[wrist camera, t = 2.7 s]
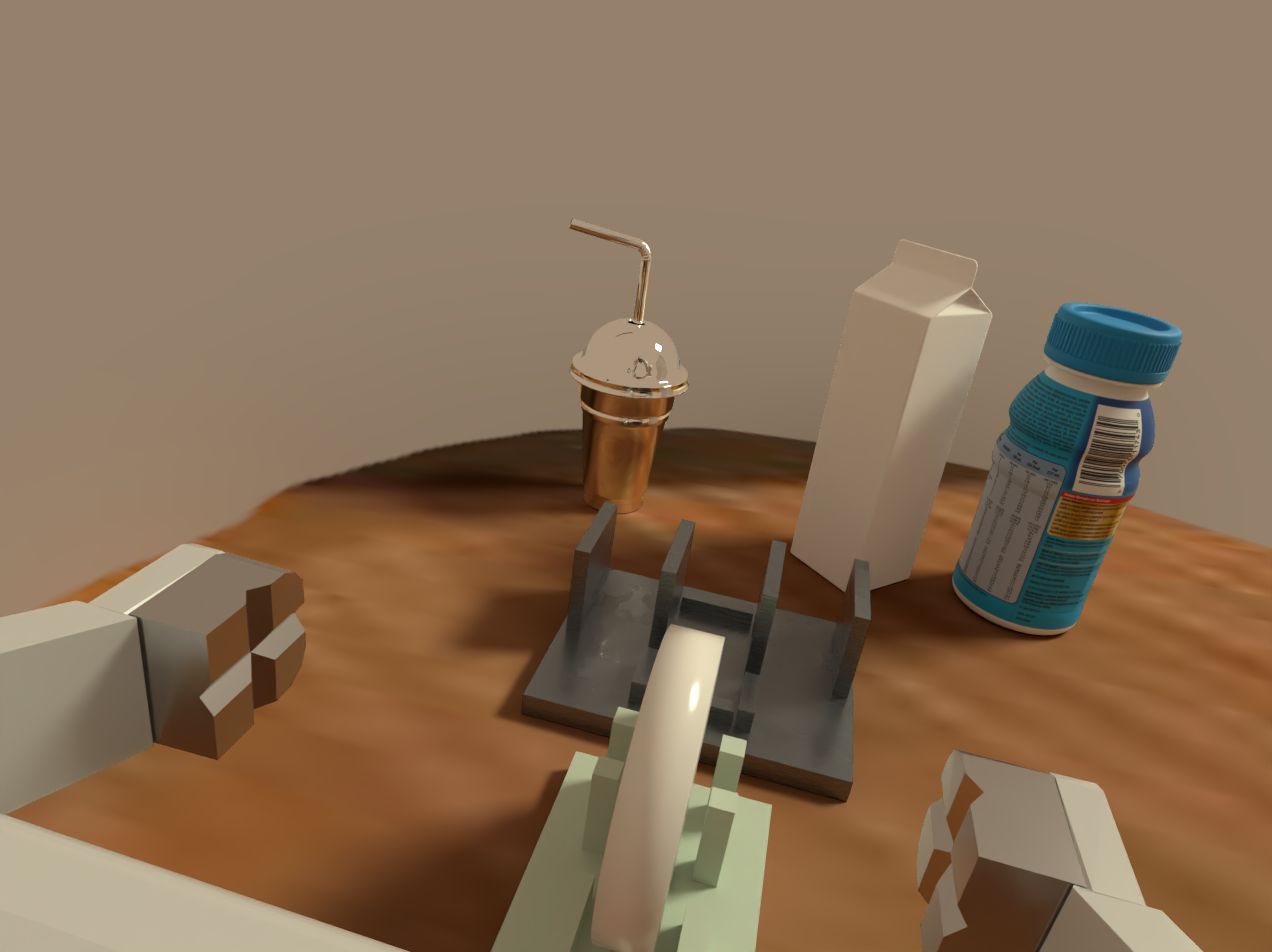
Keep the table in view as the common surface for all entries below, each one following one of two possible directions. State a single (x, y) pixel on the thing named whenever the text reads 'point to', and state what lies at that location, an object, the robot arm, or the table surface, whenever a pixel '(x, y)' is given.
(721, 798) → the plate stand
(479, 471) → the table surface
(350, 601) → the table surface
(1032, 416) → the beverage bottle
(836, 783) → the dish rack
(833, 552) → the milk
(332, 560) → the table surface
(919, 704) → the table surface
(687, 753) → the plate
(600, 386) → the cup with straw
